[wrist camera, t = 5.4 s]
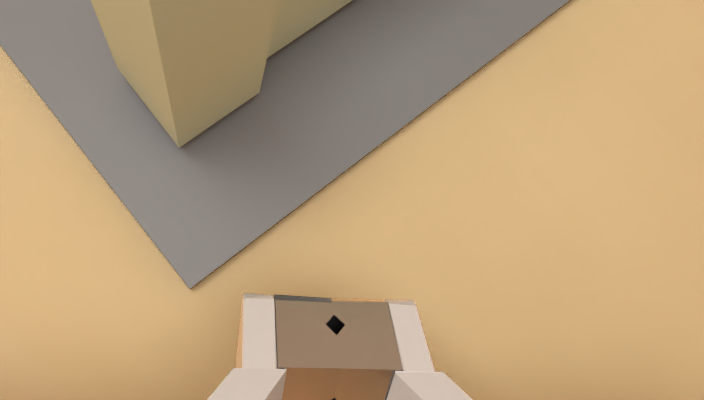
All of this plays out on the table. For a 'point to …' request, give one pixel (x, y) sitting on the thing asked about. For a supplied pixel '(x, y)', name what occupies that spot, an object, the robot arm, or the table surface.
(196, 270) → the board
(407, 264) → the table surface
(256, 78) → the gate
